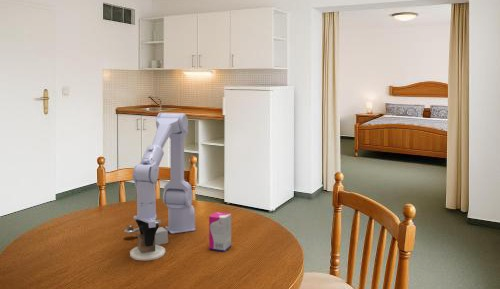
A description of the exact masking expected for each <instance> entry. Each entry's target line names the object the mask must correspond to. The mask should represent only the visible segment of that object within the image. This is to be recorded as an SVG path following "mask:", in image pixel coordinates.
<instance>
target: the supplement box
mask: <svg viewBox="0 0 500 289" xmlns="http://www.w3.org/2000/svg"><path fill="white" fill-rule="evenodd" d="M208 222H209V224H208V228H209V229H208V232H209V233H208V240H209V242H208V243H209V244H208V247H209V248H208V249H209V251H217V252H221V253H222V252H223V253H225V252H227V251H228V250H229V249H230V248H231V247H232V214H231V213H227V212H218V211H217V212H216V211H215V212H214V213H213V214H211V215H209V217H208Z"/></svg>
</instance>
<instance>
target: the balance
mask: <svg viewBox="0 0 500 289" xmlns="http://www.w3.org/2000/svg"><path fill="white" fill-rule="evenodd" d="M155 221H156V224H159V225H160V224H162V220H161V219H156V220H155ZM137 232H138V234H136V236H135V237H136V238H137V239H138V235H140V233H139V232H140V230H139V227H136V228H135V227H134V224H127V225H126V229H124V233H125V234H130V235H131V234H135V233H137Z"/></svg>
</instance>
